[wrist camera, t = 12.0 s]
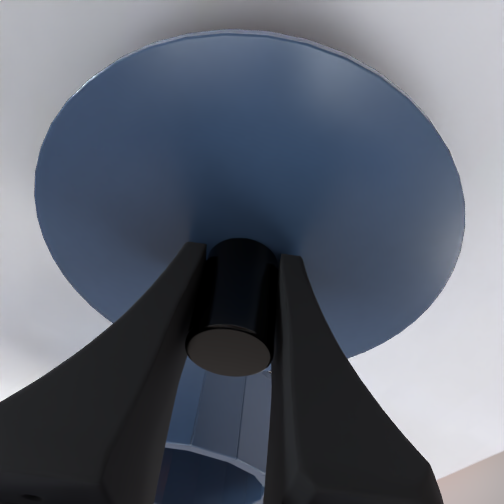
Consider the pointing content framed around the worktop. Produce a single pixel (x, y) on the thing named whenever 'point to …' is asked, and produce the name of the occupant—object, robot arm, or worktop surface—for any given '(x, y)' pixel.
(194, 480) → the pot
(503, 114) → the worktop surface
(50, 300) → the worktop surface
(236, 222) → the lid
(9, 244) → the worktop surface
